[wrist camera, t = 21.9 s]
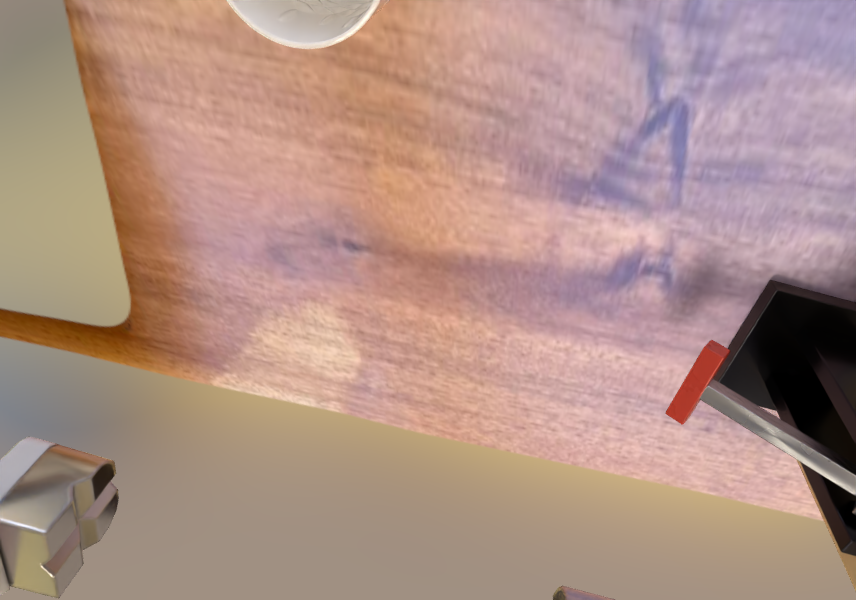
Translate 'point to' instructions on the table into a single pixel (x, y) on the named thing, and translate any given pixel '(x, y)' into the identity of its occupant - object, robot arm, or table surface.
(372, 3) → the white cup
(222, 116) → the table surface
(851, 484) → the lever
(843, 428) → the bracket
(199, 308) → the table surface
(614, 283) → the table surface
